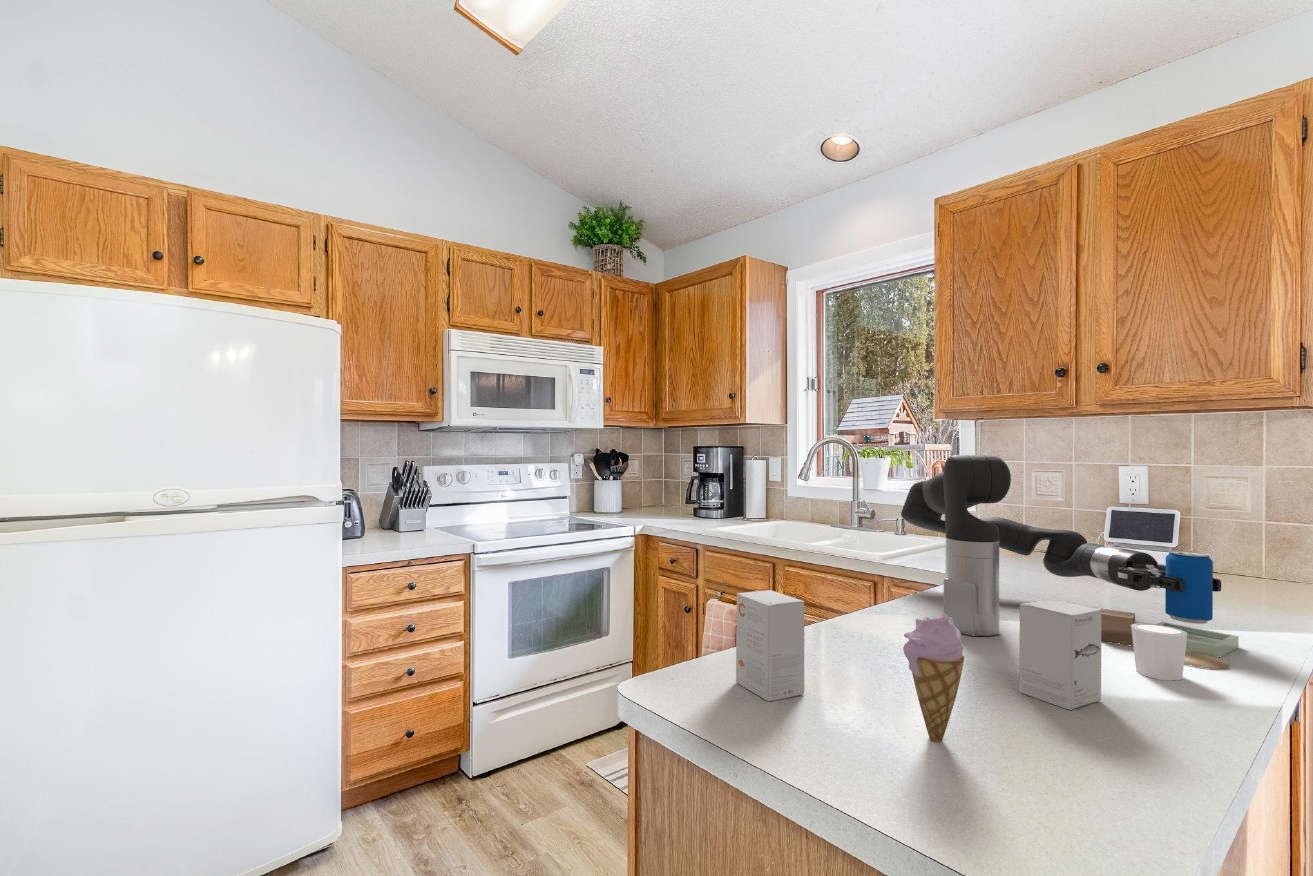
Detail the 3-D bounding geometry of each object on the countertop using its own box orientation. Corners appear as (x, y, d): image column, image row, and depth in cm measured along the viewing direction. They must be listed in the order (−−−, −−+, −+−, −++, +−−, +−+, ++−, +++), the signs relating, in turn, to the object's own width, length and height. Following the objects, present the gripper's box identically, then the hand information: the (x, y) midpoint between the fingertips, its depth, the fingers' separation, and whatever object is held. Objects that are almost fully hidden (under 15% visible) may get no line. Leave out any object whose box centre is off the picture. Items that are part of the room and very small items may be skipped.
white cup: (1179, 670, 99) (1179, 625, 99) (1194, 685, 93) (1194, 637, 93) (1125, 664, 102) (1125, 620, 102) (1137, 678, 96) (1137, 631, 96)
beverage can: (1194, 615, 116) (1194, 550, 116) (1222, 625, 110) (1222, 556, 110) (1156, 614, 117) (1156, 549, 117) (1182, 624, 110) (1182, 555, 111)
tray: (1217, 658, 105) (1217, 646, 105) (1138, 641, 114) (1138, 630, 115) (1238, 647, 112) (1238, 636, 112) (1162, 632, 121) (1162, 621, 121)
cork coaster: (1220, 675, 99) (1220, 670, 99) (1157, 661, 105) (1157, 656, 105) (1236, 666, 103) (1236, 661, 103) (1175, 652, 110) (1175, 648, 110)
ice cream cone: (932, 756, 70) (933, 620, 71) (891, 733, 76) (891, 607, 76) (975, 745, 73) (975, 614, 73) (932, 724, 79) (932, 602, 79)
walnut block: (1133, 647, 112) (1132, 618, 112) (1098, 641, 115) (1098, 613, 115) (1135, 640, 115) (1134, 613, 116) (1101, 635, 119) (1101, 608, 119)
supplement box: (1072, 712, 83) (1071, 614, 83) (1017, 692, 90) (1017, 602, 90) (1103, 702, 86) (1103, 609, 87) (1048, 684, 93) (1048, 597, 93)
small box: (805, 695, 88) (805, 600, 88) (767, 702, 85) (768, 605, 85) (770, 676, 95) (770, 588, 95) (734, 682, 92) (735, 592, 93)
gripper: (1156, 585, 128) (1238, 607, 112) (1089, 586, 127) (1162, 608, 111) (1156, 548, 128) (1238, 564, 112) (1089, 548, 127) (1162, 564, 111)
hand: (1200, 586), depth 111 cm, fingers closed on beverage can, 6 cm apart
